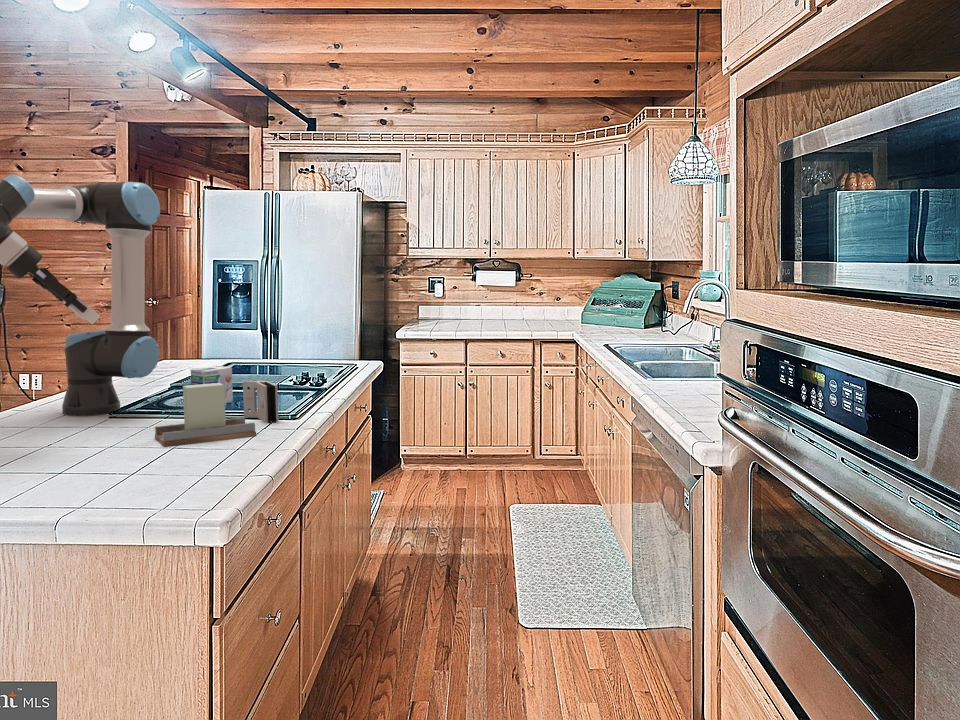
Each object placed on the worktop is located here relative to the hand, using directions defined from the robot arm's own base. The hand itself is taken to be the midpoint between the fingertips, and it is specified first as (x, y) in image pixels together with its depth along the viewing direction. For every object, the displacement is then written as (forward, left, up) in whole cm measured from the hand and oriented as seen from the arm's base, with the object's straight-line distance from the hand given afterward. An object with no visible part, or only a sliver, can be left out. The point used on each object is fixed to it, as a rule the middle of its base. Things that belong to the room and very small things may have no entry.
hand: (91, 318), depth 204 cm
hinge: (-2, +42, -30) cm, 51 cm away
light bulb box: (-33, +37, -30) cm, 58 cm away
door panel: (+13, +23, -29) cm, 39 cm away
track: (+13, +23, -30) cm, 40 cm away
